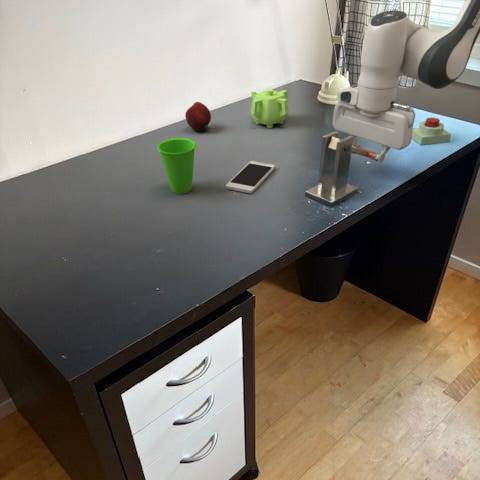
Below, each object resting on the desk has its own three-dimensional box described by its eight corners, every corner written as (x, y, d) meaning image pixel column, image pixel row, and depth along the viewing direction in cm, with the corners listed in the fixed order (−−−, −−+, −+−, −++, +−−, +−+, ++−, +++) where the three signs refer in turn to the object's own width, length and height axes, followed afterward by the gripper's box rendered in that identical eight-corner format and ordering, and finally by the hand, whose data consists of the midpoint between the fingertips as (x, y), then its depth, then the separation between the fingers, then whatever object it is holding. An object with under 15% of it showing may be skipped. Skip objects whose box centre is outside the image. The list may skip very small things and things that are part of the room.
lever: (356, 155, 119) (360, 145, 118) (376, 162, 115) (380, 152, 114) (321, 145, 107) (325, 134, 106) (342, 152, 103) (346, 141, 102)
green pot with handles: (287, 116, 154) (288, 83, 147) (289, 129, 145) (290, 95, 139) (250, 116, 154) (250, 84, 148) (250, 130, 146) (250, 96, 139)
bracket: (331, 181, 118) (337, 125, 109) (357, 192, 114) (366, 134, 105) (305, 195, 113) (309, 137, 104) (331, 207, 109) (338, 147, 100)
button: (433, 123, 136) (435, 116, 135) (440, 127, 133) (442, 121, 132) (422, 124, 136) (423, 118, 134) (429, 129, 133) (430, 122, 132)
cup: (155, 190, 117) (148, 146, 110) (182, 177, 122) (178, 134, 115) (180, 201, 113) (174, 156, 105) (207, 187, 118) (203, 144, 110)
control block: (436, 132, 140) (439, 118, 137) (449, 141, 135) (453, 127, 132) (408, 136, 139) (411, 122, 136) (420, 145, 134) (423, 130, 131)
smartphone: (225, 188, 117) (225, 185, 116) (250, 163, 127) (250, 160, 127) (251, 193, 114) (251, 190, 114) (275, 168, 125) (275, 164, 124)
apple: (199, 123, 151) (197, 97, 145) (217, 129, 147) (215, 102, 141) (182, 130, 147) (179, 103, 141) (200, 136, 143) (198, 108, 137)
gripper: (424, 104, 103) (411, 165, 112) (348, 85, 114) (341, 142, 124) (408, 111, 100) (395, 173, 109) (331, 91, 111) (326, 149, 120)
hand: (366, 156), depth 116 cm, fingers closed on lever, 6 cm apart
